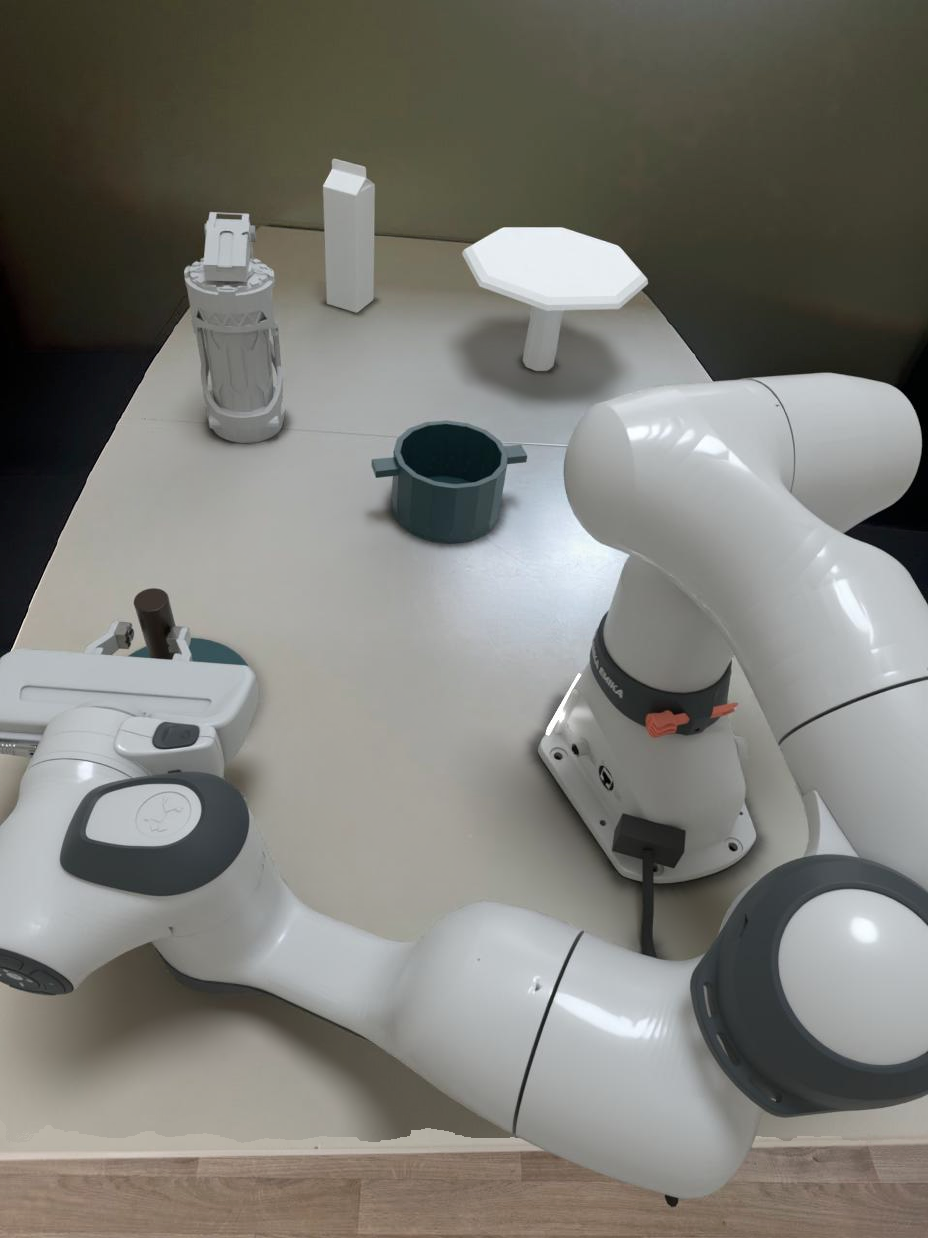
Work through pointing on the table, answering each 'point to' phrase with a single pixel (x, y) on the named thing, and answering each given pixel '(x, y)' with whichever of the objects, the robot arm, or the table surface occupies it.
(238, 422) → the lantern
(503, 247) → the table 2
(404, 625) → the table surface
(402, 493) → the pot
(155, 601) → the lid
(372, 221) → the milk
